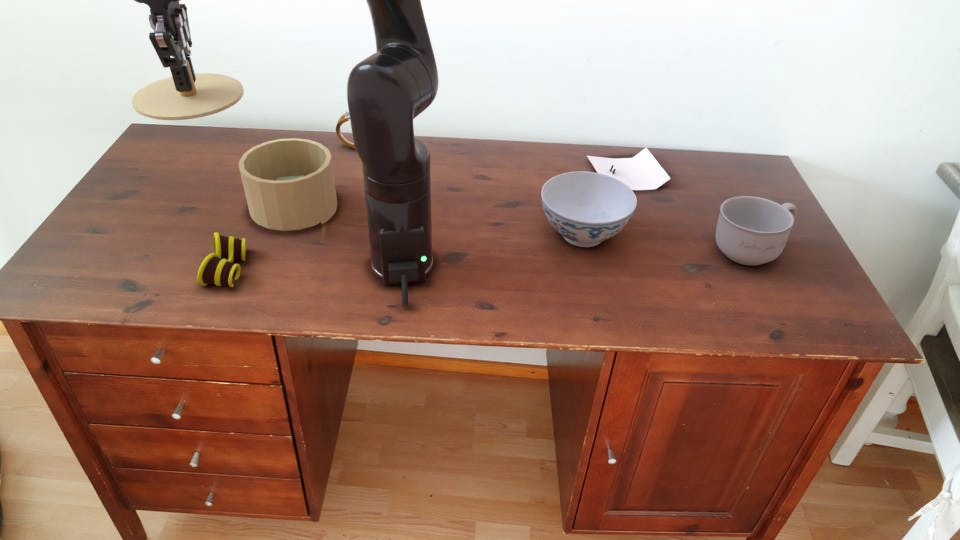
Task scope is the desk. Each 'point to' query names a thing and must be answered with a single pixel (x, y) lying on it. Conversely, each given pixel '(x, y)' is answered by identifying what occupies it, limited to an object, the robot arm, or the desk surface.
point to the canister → (289, 184)
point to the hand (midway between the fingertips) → (186, 86)
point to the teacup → (753, 229)
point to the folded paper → (633, 170)
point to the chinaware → (587, 206)
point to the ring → (343, 119)
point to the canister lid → (188, 97)
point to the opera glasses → (222, 261)
